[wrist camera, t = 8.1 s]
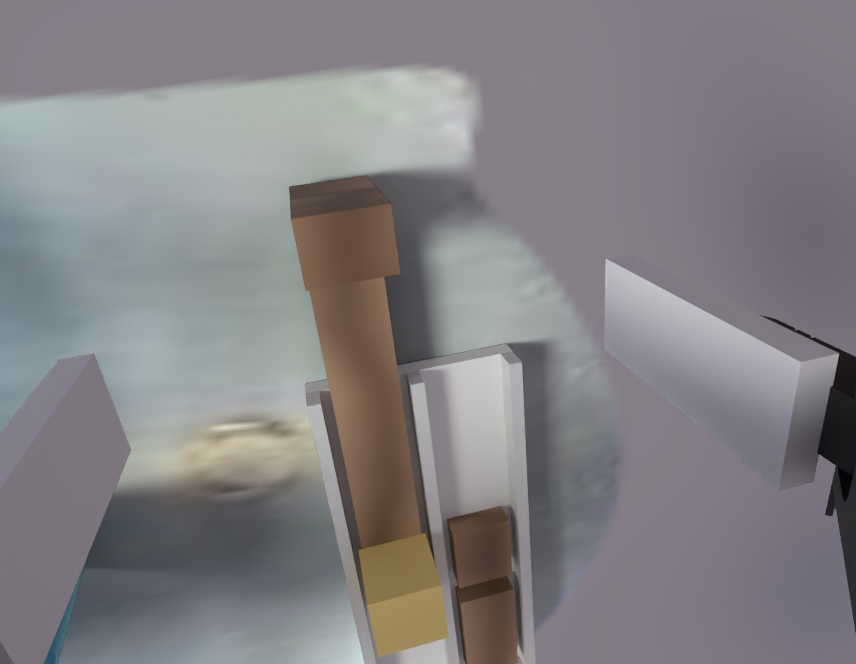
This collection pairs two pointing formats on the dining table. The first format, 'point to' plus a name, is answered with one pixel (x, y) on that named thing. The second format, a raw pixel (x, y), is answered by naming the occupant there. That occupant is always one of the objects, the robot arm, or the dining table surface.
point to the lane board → (444, 480)
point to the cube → (403, 594)
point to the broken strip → (484, 586)
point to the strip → (359, 345)
